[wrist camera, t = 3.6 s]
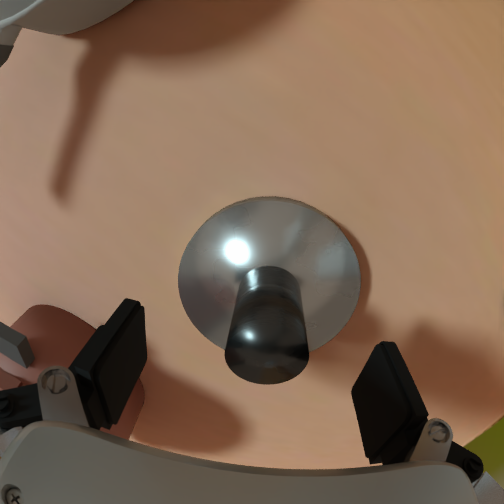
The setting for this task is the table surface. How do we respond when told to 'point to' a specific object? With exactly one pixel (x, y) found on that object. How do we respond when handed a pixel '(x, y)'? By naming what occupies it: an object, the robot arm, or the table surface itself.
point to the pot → (53, 354)
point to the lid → (269, 285)
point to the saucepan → (51, 17)
